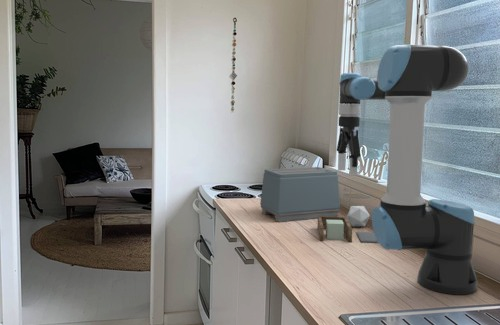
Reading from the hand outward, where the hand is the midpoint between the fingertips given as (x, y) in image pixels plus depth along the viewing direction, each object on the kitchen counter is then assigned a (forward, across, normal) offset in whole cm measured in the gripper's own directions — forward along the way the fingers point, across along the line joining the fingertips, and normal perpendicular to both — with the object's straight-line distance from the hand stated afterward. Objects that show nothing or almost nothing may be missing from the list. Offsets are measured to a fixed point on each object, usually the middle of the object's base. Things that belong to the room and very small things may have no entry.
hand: (347, 173), depth 174 cm
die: (+24, +14, -10) cm, 30 cm away
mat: (+24, -4, -10) cm, 27 cm away
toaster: (+25, +35, +8) cm, 44 cm away
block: (+24, -1, +4) cm, 25 cm away
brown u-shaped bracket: (+24, +2, +4) cm, 24 cm away
